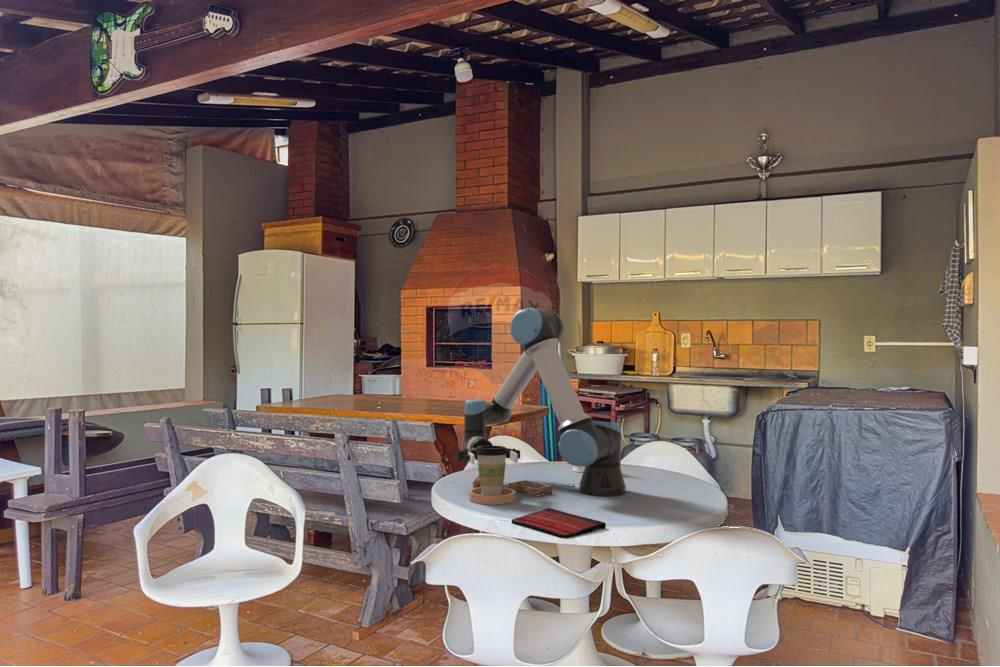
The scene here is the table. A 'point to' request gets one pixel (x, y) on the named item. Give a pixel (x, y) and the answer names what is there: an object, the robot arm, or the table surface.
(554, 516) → the binder
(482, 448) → the coffee cup
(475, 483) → the bread roll
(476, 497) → the dish
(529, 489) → the pebble tray
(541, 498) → the table surface
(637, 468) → the table surface
